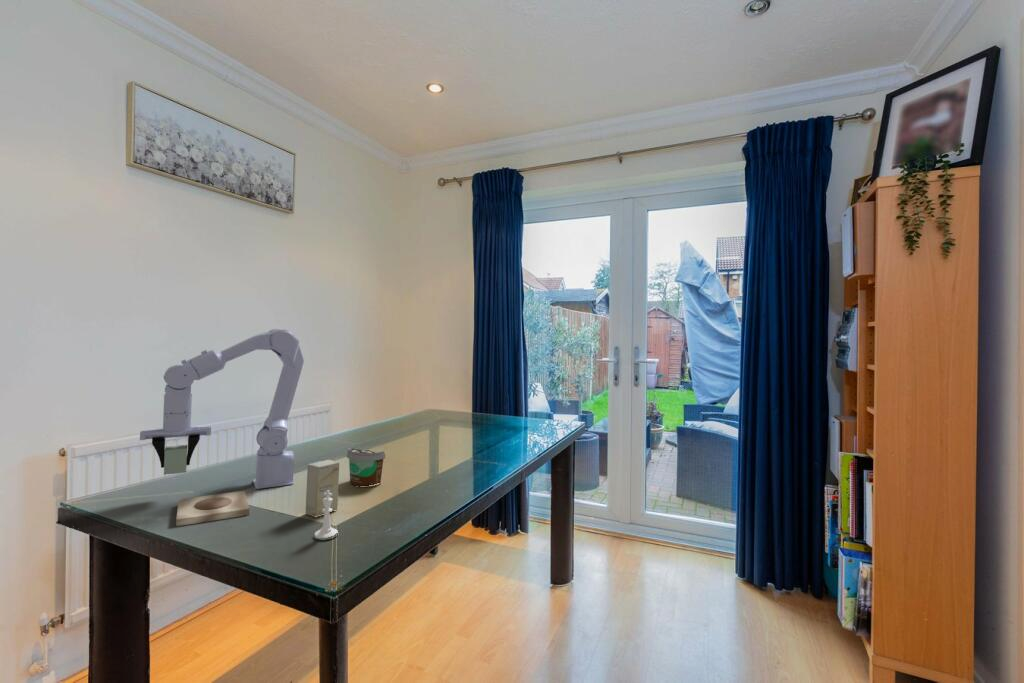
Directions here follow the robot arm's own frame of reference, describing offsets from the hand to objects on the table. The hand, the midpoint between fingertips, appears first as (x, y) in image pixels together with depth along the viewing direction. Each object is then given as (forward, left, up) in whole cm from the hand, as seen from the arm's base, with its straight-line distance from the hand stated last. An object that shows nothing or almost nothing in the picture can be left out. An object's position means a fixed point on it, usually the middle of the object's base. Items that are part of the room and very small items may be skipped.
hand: (175, 465), depth 117 cm
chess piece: (-28, +40, -9) cm, 50 cm away
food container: (-44, +10, -9) cm, 46 cm away
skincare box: (-30, +26, -9) cm, 41 cm away
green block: (0, 0, -1) cm, 1 cm away
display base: (-8, +13, -8) cm, 17 cm away
